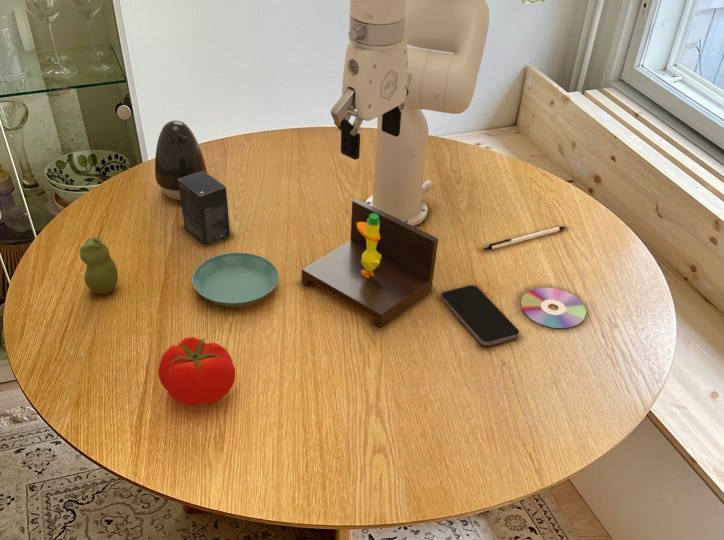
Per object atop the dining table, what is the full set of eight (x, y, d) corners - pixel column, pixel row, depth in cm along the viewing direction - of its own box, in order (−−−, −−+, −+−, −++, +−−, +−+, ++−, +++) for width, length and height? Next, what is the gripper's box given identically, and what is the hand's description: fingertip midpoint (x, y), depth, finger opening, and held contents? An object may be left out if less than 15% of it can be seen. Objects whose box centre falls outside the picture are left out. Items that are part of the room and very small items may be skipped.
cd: (555, 280, 135) (555, 280, 135) (600, 315, 128) (600, 315, 128) (507, 299, 130) (507, 299, 130) (551, 336, 124) (551, 336, 124)
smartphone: (475, 283, 133) (522, 333, 122) (474, 289, 133) (521, 338, 123) (438, 292, 130) (483, 343, 120) (438, 298, 131) (482, 349, 121)
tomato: (241, 413, 109) (236, 370, 103) (164, 423, 107) (155, 380, 101) (233, 364, 117) (229, 321, 111) (161, 373, 115) (153, 329, 109)
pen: (482, 249, 142) (483, 244, 141) (563, 228, 148) (564, 223, 147) (485, 252, 141) (486, 247, 140) (566, 230, 148) (567, 225, 147)
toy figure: (347, 266, 131) (350, 206, 123) (364, 260, 132) (368, 200, 124) (369, 286, 127) (373, 225, 119) (386, 280, 129) (392, 219, 120)
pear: (109, 302, 127) (97, 253, 120) (81, 296, 128) (68, 246, 121) (126, 283, 130) (115, 234, 123) (98, 277, 131) (86, 228, 124)
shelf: (354, 250, 140) (356, 198, 132) (431, 291, 132) (438, 238, 124) (301, 283, 132) (301, 229, 124) (380, 329, 124) (384, 274, 116)
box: (231, 236, 142) (226, 186, 134) (205, 246, 139) (199, 196, 132) (209, 218, 146) (203, 168, 139) (183, 228, 143) (176, 177, 136)
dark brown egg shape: (169, 212, 147) (158, 139, 137) (151, 187, 154) (139, 116, 143) (217, 199, 151) (210, 128, 140) (198, 176, 157) (190, 106, 147)
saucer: (295, 279, 133) (294, 267, 131) (248, 326, 123) (247, 313, 122) (225, 255, 137) (224, 242, 136) (176, 297, 128) (174, 285, 126)
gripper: (356, 55, 97) (352, 174, 109) (436, 19, 106) (423, 133, 118) (313, 38, 100) (314, 156, 112) (394, 5, 109) (386, 117, 121)
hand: (370, 144), depth 115 cm, fingers open, 9 cm apart
